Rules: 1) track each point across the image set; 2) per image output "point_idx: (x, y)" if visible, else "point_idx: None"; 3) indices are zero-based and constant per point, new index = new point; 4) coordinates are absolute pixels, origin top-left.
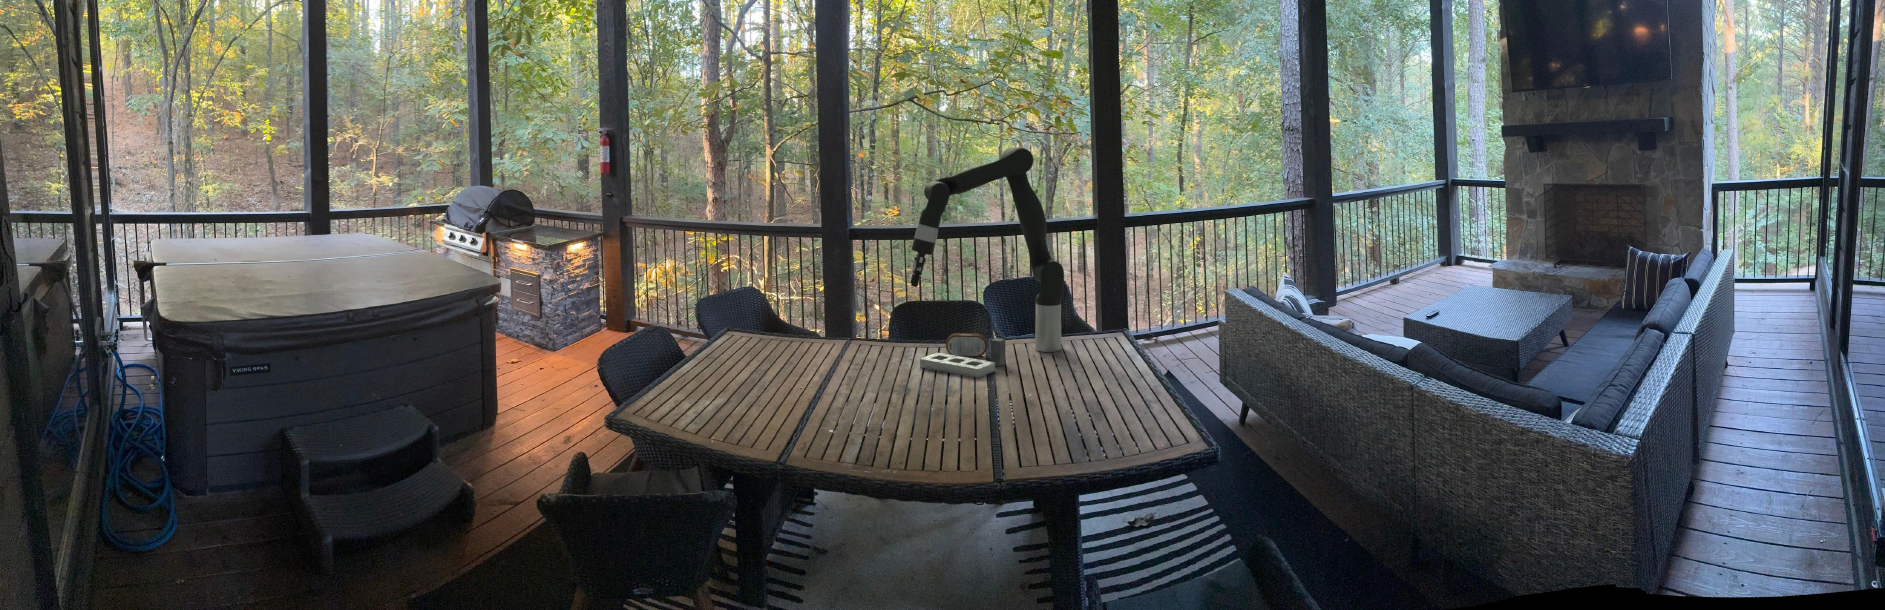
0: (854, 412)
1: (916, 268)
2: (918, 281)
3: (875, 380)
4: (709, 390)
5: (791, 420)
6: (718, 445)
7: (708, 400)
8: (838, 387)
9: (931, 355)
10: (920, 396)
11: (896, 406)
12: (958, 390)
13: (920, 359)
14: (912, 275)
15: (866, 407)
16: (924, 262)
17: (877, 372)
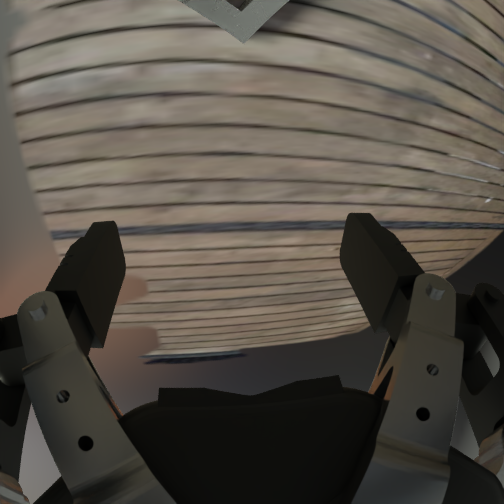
0: (463, 180)
1: (488, 371)
2: (390, 241)
3: (335, 147)
4: (306, 317)
5: (444, 235)
6: (457, 267)
7: (342, 308)
8: (354, 204)
9: (203, 7)
10: (455, 82)
11: (473, 128)
12: (451, 6)
13: (245, 41)
14: (106, 326)
15: (456, 166)
16: (437, 479)
17: (272, 144)
